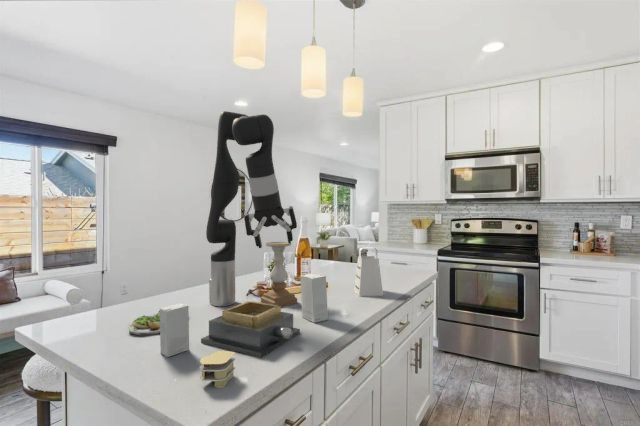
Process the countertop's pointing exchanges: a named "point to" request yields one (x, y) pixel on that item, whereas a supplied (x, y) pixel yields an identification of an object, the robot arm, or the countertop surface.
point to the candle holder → (278, 278)
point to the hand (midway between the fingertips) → (275, 244)
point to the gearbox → (251, 329)
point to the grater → (368, 275)
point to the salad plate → (146, 324)
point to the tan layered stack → (218, 368)
